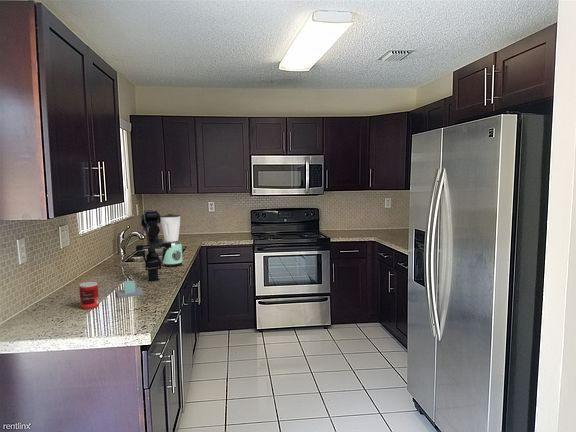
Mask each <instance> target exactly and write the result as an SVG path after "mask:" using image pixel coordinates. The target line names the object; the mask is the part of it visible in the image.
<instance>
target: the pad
mask: <svg viewBox="0 0 576 432" xmlns="http://www.w3.org/2000/svg"><path fill="white" fill-rule="evenodd" d="M116 295H117V299H121V298H122V299H123V298H129V297H137V296H138V297H139V296H143V295H144V292H143V288H142V287H135V292H133V293H126V294H125V291H124V289H120V290H119V289H118V290H116Z"/></svg>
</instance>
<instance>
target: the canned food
mask: <svg viewBox="0 0 576 432" xmlns="http://www.w3.org/2000/svg"><path fill="white" fill-rule="evenodd" d="M78 288H79V290H78V291H79V301H80V308H81V310H93V309H96V308H97V307H98V308H99V305H100V300H99V285H98V282H97V281H86V282H82V283H80V284H79V286H78Z"/></svg>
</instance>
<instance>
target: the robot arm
mask: <svg viewBox="0 0 576 432" xmlns="http://www.w3.org/2000/svg"><path fill="white" fill-rule="evenodd" d="M160 216H161V214H160V212H158V210H153V209H145V210H143V214H142V215H141V216H140V226H142V231H143V232H144V233H145V237H146V244H143V243H137V244H135V245H134V248H135V251H136V252H138V253H140V254H141V256H142V257H143V260H144V270H145V272H146V271H147V276H148V277H147V278H146V279H147V282H154V281H160V280H161V279H160V277H159V270H162V269H163V268H162V264H163V260H164V257H165V253H166V251H167V250H168V249H169V248H172V247H171V243H170V242H164V240H163V238H159V233H160V231H161V229H160V227H159V225H158V224H161V218H160ZM162 247H163V250H162V249H161V252H162V253H161V254H162V255H161V259H160V256H159V253H158V252H156V249H159V248H162ZM145 249H147V254H145Z"/></svg>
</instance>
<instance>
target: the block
mask: <svg viewBox="0 0 576 432" xmlns="http://www.w3.org/2000/svg"><path fill="white" fill-rule="evenodd" d="M135 283H136V282H135V280H129V281H128V280H127V281H126V280H125V281H123V290H124V291H125V294H126V293H133V292H135V288H136V284H135Z"/></svg>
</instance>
